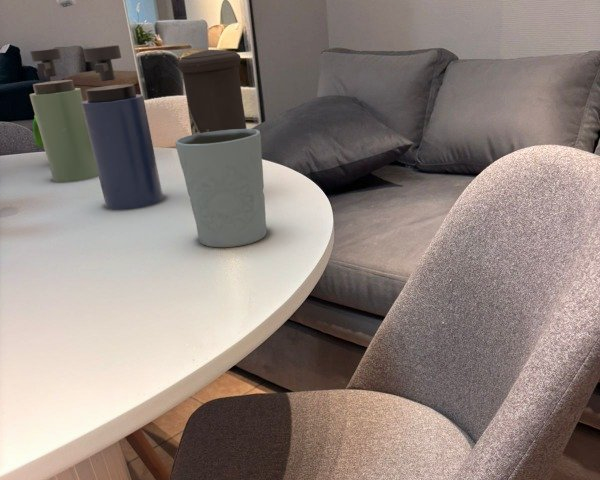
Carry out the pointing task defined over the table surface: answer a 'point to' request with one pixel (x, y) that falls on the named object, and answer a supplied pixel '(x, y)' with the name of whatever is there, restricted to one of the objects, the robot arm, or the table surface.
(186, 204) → the table surface
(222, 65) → the container
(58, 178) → the sage flask
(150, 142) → the navy lidded canister
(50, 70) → the sage flask pump
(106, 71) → the navy flask pump
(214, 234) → the grey-green cup
